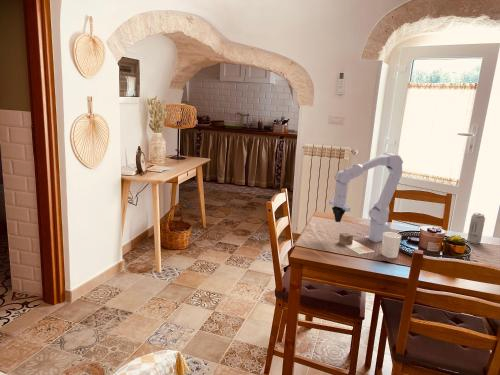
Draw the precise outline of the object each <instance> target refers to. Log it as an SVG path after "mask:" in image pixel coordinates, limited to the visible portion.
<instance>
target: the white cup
mask: <svg viewBox="0 0 500 375" xmlns="http://www.w3.org/2000/svg"><path fill="white" fill-rule="evenodd" d="M401 241H402V235H401V234H399V233H397V232H394V231H393V232H392V231H389V232H384V233H383V239H382V241H381V255H383V256H384V257H385V258H387V259H396V258H398V255H399V254H398V253H399V251H400V247H401Z"/></svg>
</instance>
